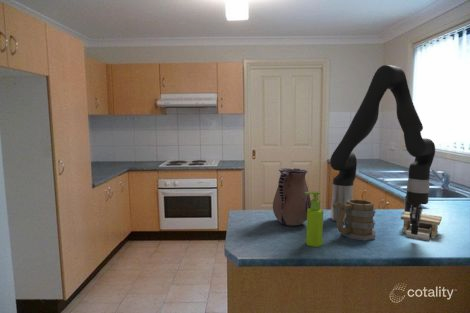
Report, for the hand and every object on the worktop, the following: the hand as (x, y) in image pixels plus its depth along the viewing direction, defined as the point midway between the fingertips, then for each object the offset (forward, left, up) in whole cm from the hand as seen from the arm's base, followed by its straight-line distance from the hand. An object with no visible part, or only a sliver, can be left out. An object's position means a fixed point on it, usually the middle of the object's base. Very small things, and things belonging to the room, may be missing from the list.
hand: (414, 233), depth 128 cm
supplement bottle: (+18, +48, -3) cm, 51 cm away
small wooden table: (+8, +14, -3) cm, 16 cm away
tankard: (-23, +4, -3) cm, 23 cm away
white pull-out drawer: (+6, +11, -3) cm, 13 cm away
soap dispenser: (-40, -8, -3) cm, 41 cm away
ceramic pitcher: (-47, +17, -3) cm, 50 cm away
